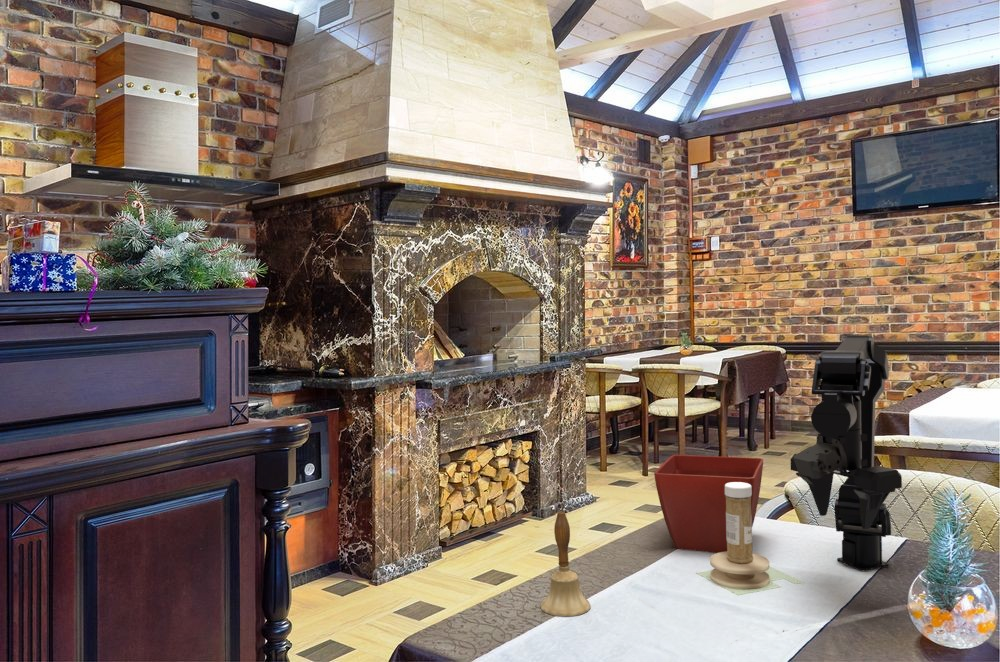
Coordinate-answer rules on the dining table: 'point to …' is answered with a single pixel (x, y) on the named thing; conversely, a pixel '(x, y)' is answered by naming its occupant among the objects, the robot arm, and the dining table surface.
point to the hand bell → (564, 579)
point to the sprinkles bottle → (738, 522)
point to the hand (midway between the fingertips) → (843, 522)
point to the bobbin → (740, 572)
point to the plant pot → (702, 497)
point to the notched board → (773, 575)
